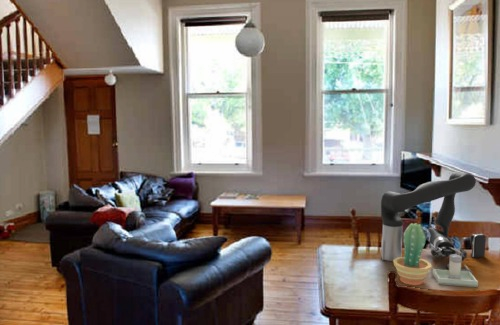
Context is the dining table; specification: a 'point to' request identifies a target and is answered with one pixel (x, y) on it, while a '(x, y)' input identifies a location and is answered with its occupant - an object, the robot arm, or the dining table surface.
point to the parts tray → (465, 280)
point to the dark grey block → (478, 245)
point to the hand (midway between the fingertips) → (452, 257)
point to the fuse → (455, 266)
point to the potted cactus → (413, 256)
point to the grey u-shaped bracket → (464, 268)
